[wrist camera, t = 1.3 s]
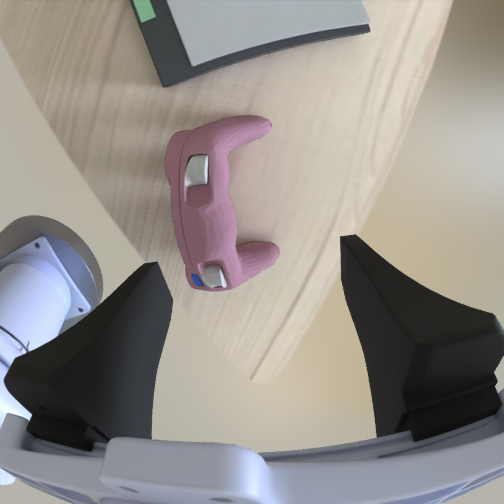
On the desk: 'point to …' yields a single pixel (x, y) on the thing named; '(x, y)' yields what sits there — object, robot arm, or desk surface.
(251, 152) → the desk surface
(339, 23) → the scale
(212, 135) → the video game controller
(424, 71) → the desk surface
